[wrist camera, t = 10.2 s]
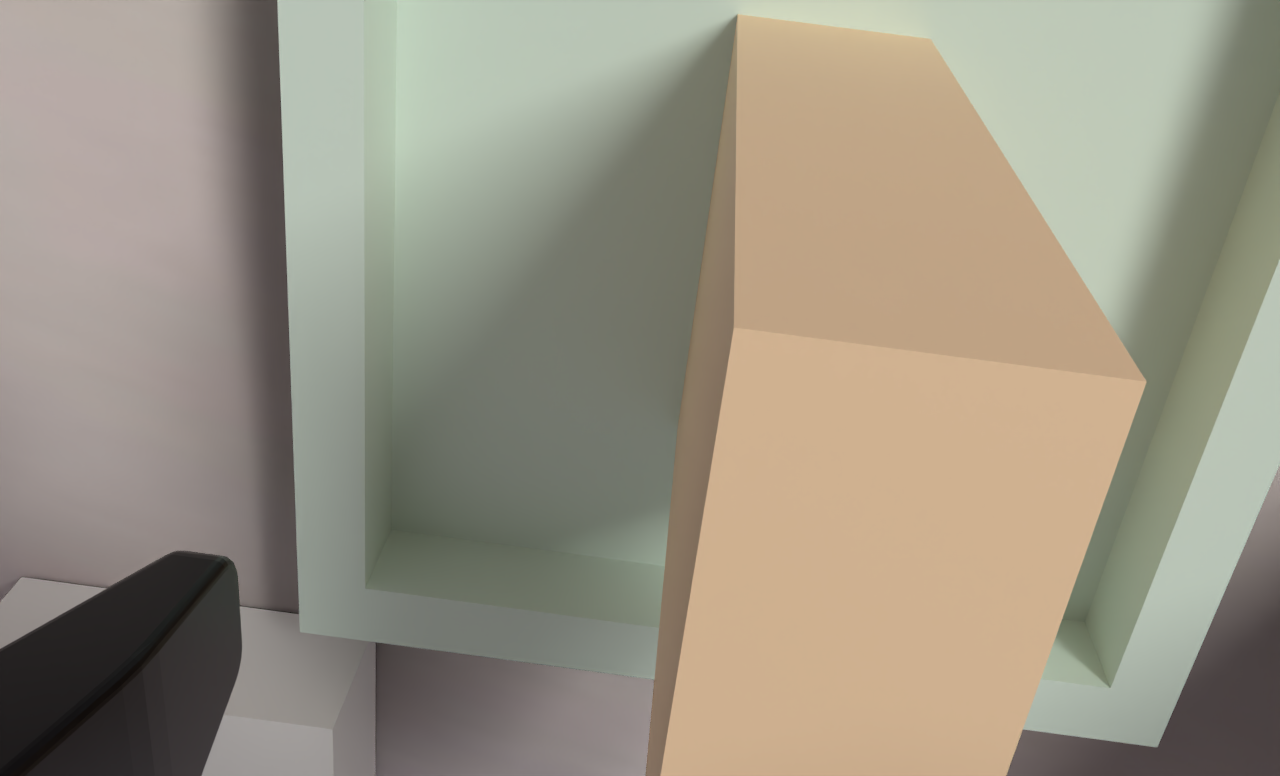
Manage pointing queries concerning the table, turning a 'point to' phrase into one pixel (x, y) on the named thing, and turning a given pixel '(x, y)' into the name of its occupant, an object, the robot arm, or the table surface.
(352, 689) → the dispenser
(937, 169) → the tan cardboard block
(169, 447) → the table surface
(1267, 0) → the tray
